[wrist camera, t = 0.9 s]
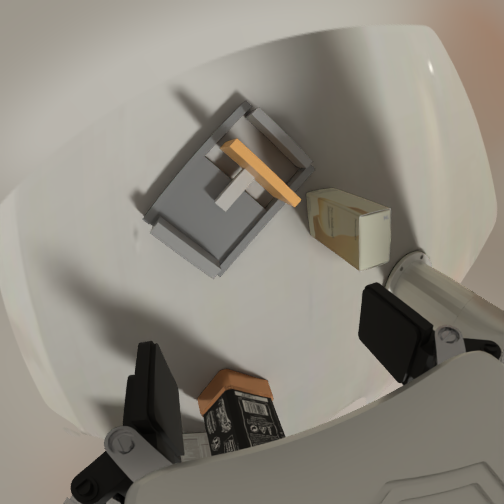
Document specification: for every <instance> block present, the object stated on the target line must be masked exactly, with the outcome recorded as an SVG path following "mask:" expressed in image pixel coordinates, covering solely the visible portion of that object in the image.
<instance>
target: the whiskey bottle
mask: <svg viewBox="0 0 504 504" xmlns="http://www.w3.org/2000/svg"><path fill="white" fill-rule="evenodd" d="M197 399H198V404H199V409H200V413H201V415H202V417H204V422H205V427H206V432H207V437H208V442H209V447H210V451H211V456H215V455H220V454H224V453H229V452H233V451H238V450H242V449H246V448H250V447H254V446H258V445H261V444H265V443H268V442H272V441H275V440H279V439H282V438H285V435H284V432H283V429H282V427H281V424H280V421H279V419H278V416H277V413H276V411H275V408H274V405H273V402H272V401H273V395H272V392H271V389H270V386H269V383H268V381H267V380H263V379H260V378H256V377H253V376H249V375H246V374H242V373H239V372H236V371H233V370H230V369H224V370H220V371H219V372H218V373H217V375H216V376H215V377H214V378H213V380H212V381H211V382H210V383H209V385H208V386H207V387H206V388H205V389H204V391H203V392H202V393H201V394H200V396H199V397H198V398H197Z"/></svg>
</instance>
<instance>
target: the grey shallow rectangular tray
mask: <svg viewBox="0 0 504 504" xmlns="http://www.w3.org/2000/svg"><path fill="white" fill-rule="evenodd" d="M251 107H252V106H251V105H250V104H249V103H248V102H247V101H245V102H243V103H242V104H241V105H240V106H239V107H238V108H237V109H236V110H235V111H234V112H233V113H232V114H231V115H230V116H229V117H228V118H227V119H226V120H225V122H224V123H223V124H222V125H221V126H220V127H219V128H218V129H217V130H216V131H215V132H214V133H213V134H212V135H211V136H210V137H209V139H208V140H207V141H206V142H205V143H204V144H203V145H202V146H201V147H200V148H199V150H198V151H197V152H196V153H195V154H194V155H193V156H192V158H191V159H190V160H189V161H188V162H187V163H186V165H185V166H184V167H183V168H182V169H181V170H180V172H179V173H178V174H177V175H176V176H175V178H174V179H173V180H172V181H171V183H170V184H169V185H168V186H167V188H166V189H165V190H164V191H163V193H162V194H161V195H160V196H159V198H158V199H157V200H156V202H155V203H154V204H153V205H152V207H151V208H150V209H149V211H148V212H147V213H146V215H145V216H144V218H143V219H142V220H144V221H145V222H146V223H148V224H151V225H152V226H153V227H152V229H151V232H150V234H152V235H153V236H154V237H156V238H157V239H158V240H160V241H161V242H162V243H164V244H165V245H166V246H168V247H169V248H171V249H172V250H173V251H175V252H176V253H177V254H179V255H180V256H181V257H183V258H184V259H186V260H187V261H188V262H190V263H191V264H193V265H194V266H195V267H197V268H198V269H200V270H201V271H202V272H204V273H205V274H207V275H208V276H209V277H211V278H212V279H214V278H215V277H216V276H217V275H218V276H219V277H221V276H222V275H223V273H224V272H225V271H226V270H227V269H228V268H229V267H230V265H231V264H232V263H233V262H234V261H235V260H236V259H237V257H238V256H239V255H240V254H241V253H242V252H243V251H244V249H245V248H246V247H247V246H248V245H249V244H250V243H251V241H252V240H253V239H254V238H255V237H256V236H257V235H258V234H259V232H260V231H261V230H262V229H263V228H264V227H265V226H266V224H267V223H268V222H269V221H270V220H271V219H272V218H273V217H274V215H275V214H276V213H277V212H278V211H279V210H280V209H281V207H282V206H283V205H284V204H285V202H283V201H281V200H279V199H277V198H275V197H274V199H273V200H272V201H271V202H270V203H269V204H268V205H267V206H266V208H265V209H264V208H263V207H262V206H261V205H260V204H259V203H258V202H256V201H255V200H254V199H253V198H252V197H251V196H250V195H249V194H247V193H246V192H245V191H243V193H242V194H241V195H240V196H239V197H238V198H237V199H236V200H235V202H234V203H233V204H232V205H231V206H230V207H229V209H228V210H227V211H226V212H225V211H224V210H223V209H222V208H221V207H219V206H218V205H217V204H216V203H215V202H214V200H215V199H216V198H217V197H218V196H219V194H220V193H221V192H222V191H223V190H224V189H225V188H226V186H227V185H228V184H229V183H230V182H231V181H232V180H231V179H230V178H229V177H228V176H227V175H226V174H224V173H223V172H222V171H221V170H220V169H219V168H217V167H216V166H215V165H214V164H213V163H212V162H210V161H209V160H208V159H207V158H206V157H205V155H206V154H207V153H208V152H209V151H210V150H211V149H212V148H213V146H214V145H215V144H216V143H217V142H218V141H219V140H220V139H221V138H222V137H223V136H224V135H225V133H226V132H227V131H228V130H229V129H230V128H231V127H232V126H233V125H234V124H235V123H236V122H237V121H238V120H239V119H240V118H241V117H242V116H243V115H244V114H245V113H246V112H247V111H248V110H249V109H250V108H251ZM246 119H247V120H249V121H250V122H251V123H252V124H253V125H254V126H255V127H256V128H257V129H258V130H259V131H260V132H262V133H263V134H264V135H265V136H266V137H267V138H268V139H269V140H270V141H271V142H272V143H273V144H274V145H275V146H276V147H277V148H278V149H279V150H280V151H281V152H282V153H283V154H284V155H285V156H286V157H287V158H288V159H289V160H290V161H291V162H292V163H293V164H294V165H295V166H296V167H300V170H299V171H298V172H297V173H296V174H295V175H294V176H293V177H292V178H291V180H290V181H289V182H288V183H287V184H286V185H287V186H288V187H289V188H290V189H291V190H292V191H293V192H294V193H295V192H296V191H297V189H298V188H299V187H300V186H301V185H302V184H303V183H304V182H305V180H306V179H307V178H308V177H309V176H310V175H311V174H312V173H313V171H314V170H315V168H314V167H313V166H312V165H311V163H312V162H313V161H312V160H311V159H310V158H309V157H308V156H307V155H306V153H305V152H304V151H303V150H302V149H301V148H300V147H299V146H298V145H297V144H296V143H295V142H294V141H293V140H292V139H291V138H290V137H289V136H288V135H287V134H286V133H285V132H284V131H283V130H282V129H281V128H280V127H279V126H278V125H277V124H276V123H275V122H274V121H273V120H272V119H271V118H270V117H269V116H268V115H267V114H266V113H265V112H263V111H262V110H261V109H260V108H259V107H258V108H256V109H255V110H253V111H252V112H251V113H250V114H249V115H248V116H247V117H246Z"/></svg>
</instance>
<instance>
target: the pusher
mask: <svg viewBox="0 0 504 504" xmlns="http://www.w3.org/2000/svg"><path fill="white" fill-rule="evenodd" d="M220 149H221V150H222V151H223V152H224V153H226V154H227V155H228V156H229V157H230V158H231V159H232V160H233V161H235V162H236V163H237V164H238V165H239V166H240V167H241V168H242V170H241V171H240V172H239V173H238V174H237V175H236V176H235V177H234V178H233V180H232V181H231V182H230V183H229V184H228V185H227V186H226V188H225V189H224V190H223V191H222V192H221V193H220V194H219V196H218V197H217V198H216V199H215V200H214V202H215V203H216V204H217V205H218V206H219V207H221V208H222V209H223V210H224V211H225V212H226V211H227V210H228V209H229V207H230V206H231V205H232V204H233V203H234V202H235V200H236V199H237V198H238V197H239V196H240V195H241V194H242V193H243V191H244V190H245V189H246V188H247V187H248V186H249V185H250V184H251V182H252V181H253V180H254V179H255V180H256V181H257V182H258V183H259V184H260V185H261V186H262V187H263V188H265V189H266V190H267V191H268V192H269V193H270V194H271V195H272V196H273V197H275V198H277V199H279V200H281V201H283V202H285V203H287V204H289V205H291V206H293V207H296V206H297V205H298V203H299V202H300V201H301V199H300V198H299V197H298V196H297V195H296V194H295V193H294V192H293V191H292V190H291V189H290V188H289V187H288V186H287V185H286V184H285V183H284V182H283V181H282V180H281V179H280V178H279V177H278V176H277V175H276V174H275V173H274V172H273V171H272V170H271V169H270V168H269V167H267V166H266V165H265V164H264V163H263V162H262V161H261V160H260V159H259V158H258V157H257V156H256V155H255V154H254V153H252V152H251V151H250V150H249V149H248V148H247V147H246V146H245V145H244V144H243V143H241V142H240V141H239V140H238V139H234V140H230V141H227V142H225V143H224V144H223V145H222V146H221V147H220Z"/></svg>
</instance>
